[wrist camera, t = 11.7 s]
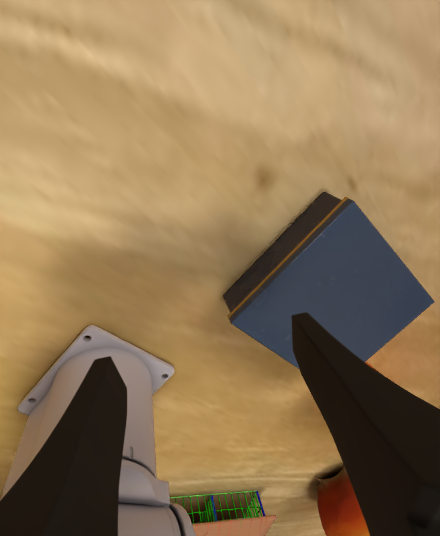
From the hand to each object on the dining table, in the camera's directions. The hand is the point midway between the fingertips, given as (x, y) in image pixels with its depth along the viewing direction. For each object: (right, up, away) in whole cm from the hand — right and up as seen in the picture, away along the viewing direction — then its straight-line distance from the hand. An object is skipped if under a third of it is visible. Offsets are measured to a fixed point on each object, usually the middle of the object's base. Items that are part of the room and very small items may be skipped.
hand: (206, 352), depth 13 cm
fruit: (+15, -24, +29) cm, 40 cm away
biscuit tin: (+8, +2, +13) cm, 16 cm away
